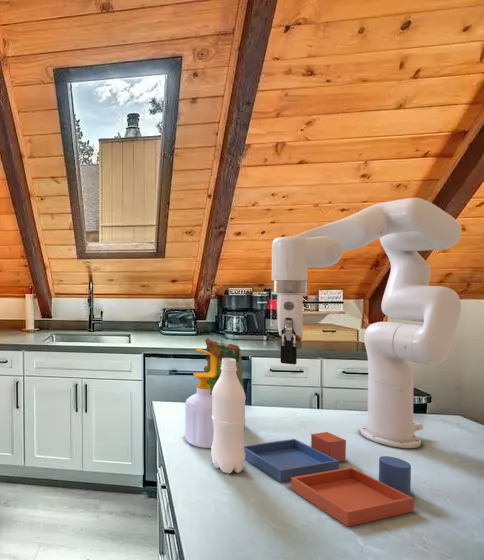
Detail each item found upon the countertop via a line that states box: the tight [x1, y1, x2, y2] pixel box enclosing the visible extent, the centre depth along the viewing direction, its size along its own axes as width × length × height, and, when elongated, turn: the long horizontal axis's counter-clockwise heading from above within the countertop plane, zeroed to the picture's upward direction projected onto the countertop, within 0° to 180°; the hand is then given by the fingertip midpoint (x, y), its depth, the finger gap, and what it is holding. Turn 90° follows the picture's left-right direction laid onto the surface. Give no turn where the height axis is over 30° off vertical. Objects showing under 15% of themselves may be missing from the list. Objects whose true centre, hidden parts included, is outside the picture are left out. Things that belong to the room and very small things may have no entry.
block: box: [310, 431, 347, 463], centre depth 93 cm, size 5×5×5 cm
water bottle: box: [210, 358, 247, 474], centre depth 88 cm, size 7×7×25 cm
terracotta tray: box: [290, 466, 415, 527], centre depth 76 cm, size 16×12×2 cm
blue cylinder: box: [378, 455, 412, 497], centre depth 79 cm, size 5×5×6 cm
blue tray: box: [244, 438, 340, 483], centre depth 90 cm, size 16×12×2 cm
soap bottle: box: [184, 347, 217, 449], centre depth 102 cm, size 9×9×25 cm
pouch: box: [203, 337, 246, 427], centre depth 114 cm, size 11×12×25 cm
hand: (288, 359), depth 92 cm, fingers open, 9 cm apart
